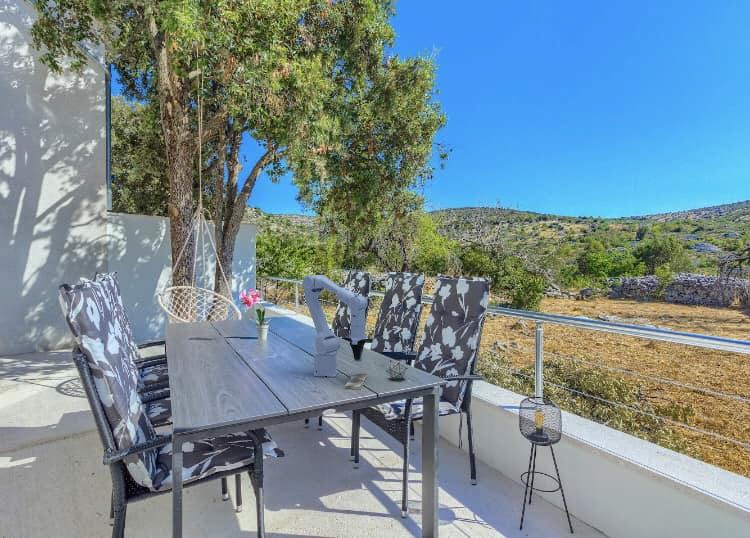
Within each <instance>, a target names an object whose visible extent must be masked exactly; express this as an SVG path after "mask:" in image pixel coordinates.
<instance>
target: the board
mask: <svg viewBox="0 0 750 538" xmlns="http://www.w3.org/2000/svg"><path fill="white" fill-rule="evenodd" d="M367 376H369V375H368V373H360V372H359V373H357V372H354V373H353V374H352V376H351V377H350V378H349V379H348V380H347V382H346V384H345V385H344V389H346V390H361V389H362V387H363V385H364V384H365V382H366V380H367V378H368V377H367ZM365 379H366V380H365ZM364 381H365V382H364ZM363 383H364V384H363Z"/></svg>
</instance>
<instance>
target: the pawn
mask: <svg viewBox="0 0 750 538" xmlns="http://www.w3.org/2000/svg"><path fill="white" fill-rule="evenodd" d="M362 355H363V352H362V350H361V356H360V360H354V359H353V360H354V362H355V363H356V362H357V363H358V362H359V363H360V362H362V361H363V357H362Z"/></svg>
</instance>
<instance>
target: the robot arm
mask: <svg viewBox="0 0 750 538" xmlns="http://www.w3.org/2000/svg"><path fill="white" fill-rule="evenodd" d="M301 286H302V288H303V293H304V299H305V302H306V304H307V309H308V310H309V314H310V317H311V319H312V323H313V324H314V327H315V330H316V333H317V336H316V337H315V339H314V342H315V348H316V352H317V353H315V355H314V356H313V357H314V358H313V377H325V376H327V377H329V378H335V377H337V375H338V374H339V373H340V371H339V370H337V354H338V350H340V347H341V342H340V340H339V338H338V337H337V335H336V334H335V333H334V332H333V331H332V330H330V327H329V325H328V322H327V319H326V315H325V313H324V309H323V308H322V305H321V302H320V299H319V296H320V295H321V294H322V293H323V291H324V289H325V290H327V291H329V292H331V293H332V294H335V295H336V297H337V300H339V301H341V302H342V303H344V304H345V305H347V306H348V308H349V311H350V339H351V341H350V342H349V346H350V348H351V351H352V355H353V360H360V356H361V350H362V353H363V352H364V351H363V350H364V346H365V345H366V342H367V339H368V338H369V337H368V335H366V309H367V308H368V306H369V303H368V299H367V298H366V297H365V296H364V295H358V293H357V292H353V291H351V290H350V288H349V287H347V286H346V287H340V286H339V285H337V284H336V282H333V281H332V280H330V278H329V277H328V276H325V275H324V274H319V275H311V274H308V275H305V276H304V277H303V279H302V282H301Z"/></svg>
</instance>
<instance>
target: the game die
mask: <svg viewBox="0 0 750 538" xmlns="http://www.w3.org/2000/svg"><path fill="white" fill-rule="evenodd" d="M389 362H390V363H389V366H388V368H387V369H386V370H385V373H386V372H387V374H389V376H390V377H391V378H392V379H391V380H392V381H394V379H402V380H405V378H404V376H405V373H406V372H407V370H408V369H409V367H406V366H405V364H404V363H403V362H402V358H401V359H400V360H393V361H392V360H391V359H389Z"/></svg>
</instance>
